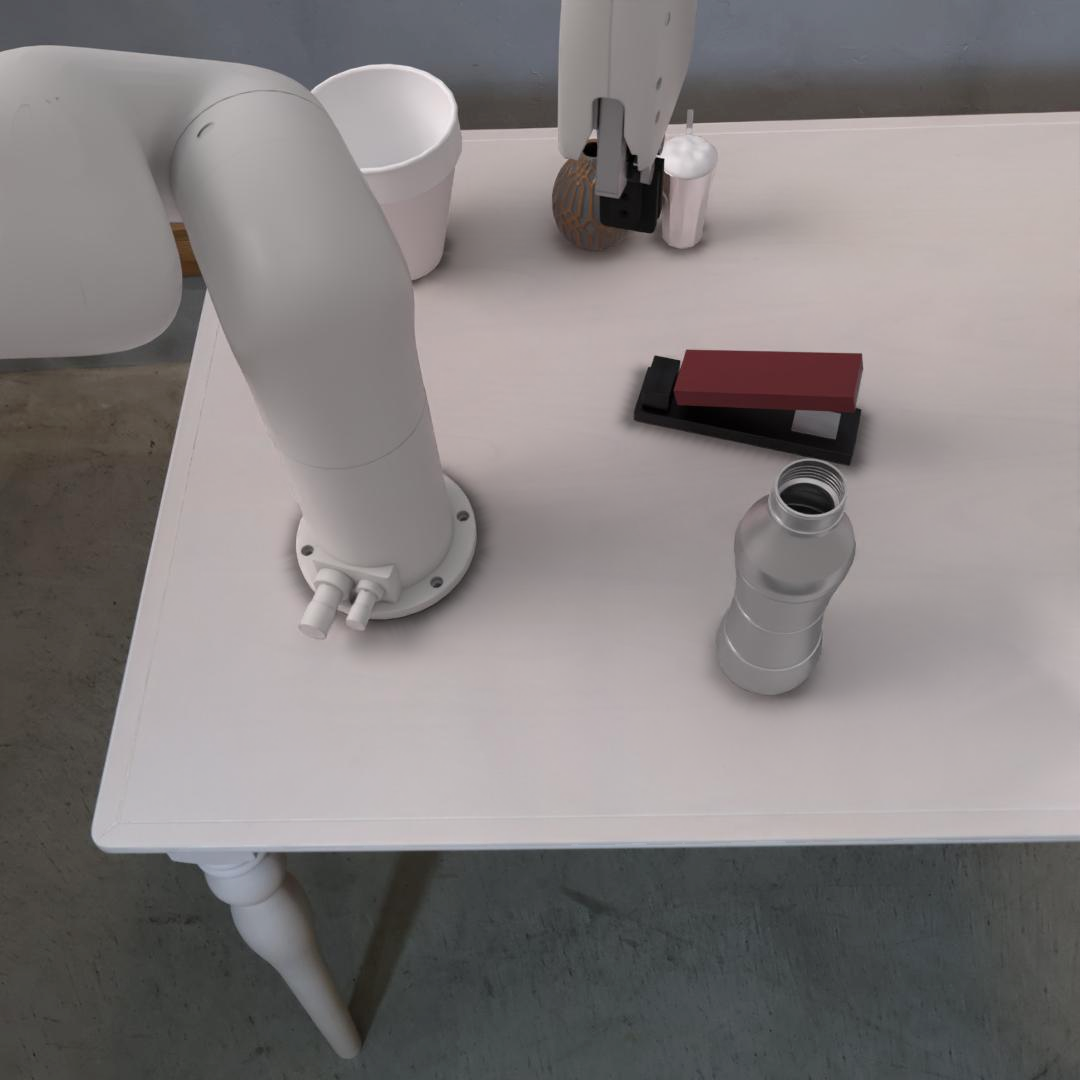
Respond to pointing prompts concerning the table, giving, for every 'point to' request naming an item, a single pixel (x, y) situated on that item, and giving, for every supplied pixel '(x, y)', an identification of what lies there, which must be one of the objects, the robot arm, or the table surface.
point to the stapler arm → (770, 380)
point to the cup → (401, 149)
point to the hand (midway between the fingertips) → (630, 219)
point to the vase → (582, 204)
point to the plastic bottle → (786, 578)
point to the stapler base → (747, 420)
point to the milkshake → (686, 186)
